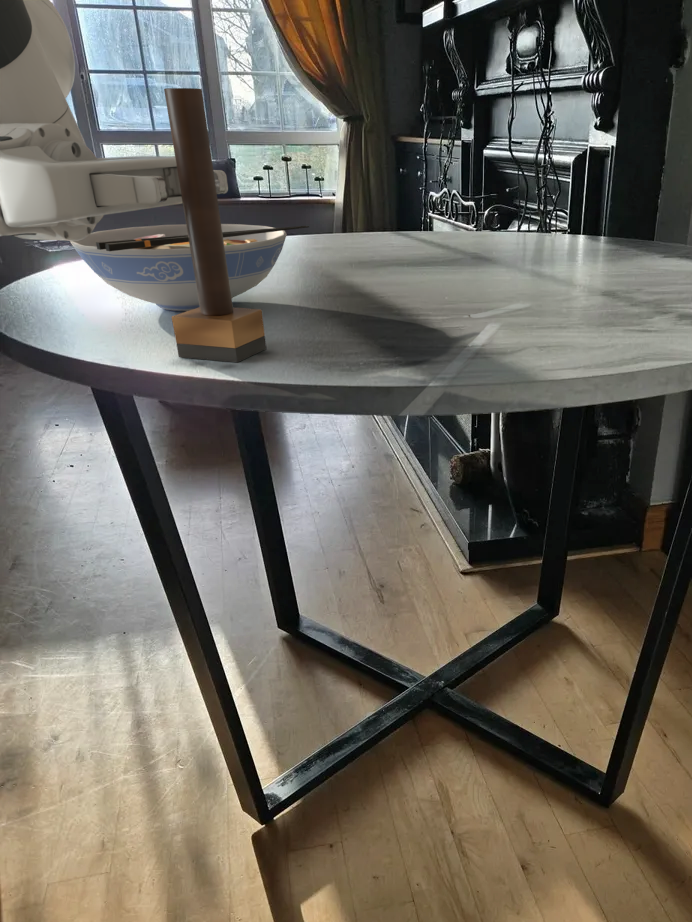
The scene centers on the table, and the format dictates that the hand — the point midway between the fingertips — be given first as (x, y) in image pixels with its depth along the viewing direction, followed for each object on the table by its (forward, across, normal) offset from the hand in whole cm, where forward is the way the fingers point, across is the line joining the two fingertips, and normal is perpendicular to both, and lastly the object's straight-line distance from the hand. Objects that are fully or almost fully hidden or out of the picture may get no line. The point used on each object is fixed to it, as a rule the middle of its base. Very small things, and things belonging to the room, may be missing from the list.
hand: (194, 185), depth 63 cm
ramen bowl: (-14, -19, -14) cm, 27 cm away
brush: (0, 0, -13) cm, 13 cm away
